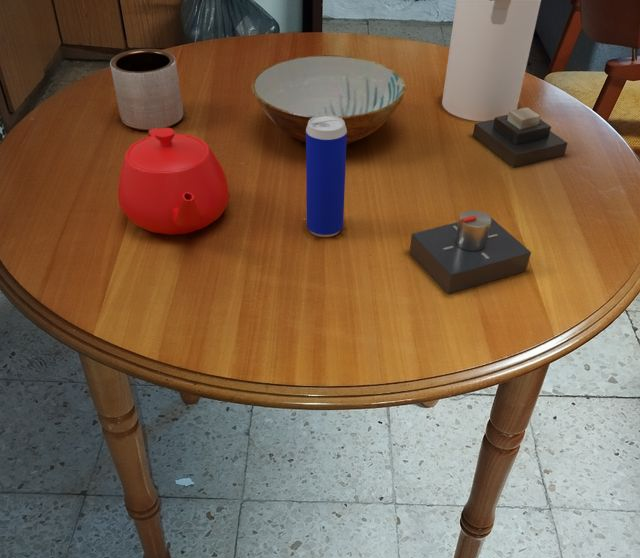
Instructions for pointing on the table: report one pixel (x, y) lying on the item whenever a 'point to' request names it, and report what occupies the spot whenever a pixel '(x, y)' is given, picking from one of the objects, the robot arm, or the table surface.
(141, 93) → the planter
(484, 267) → the volume panel
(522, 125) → the cream push button
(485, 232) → the volume dial
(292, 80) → the bowl
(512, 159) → the push button box
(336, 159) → the beverage can
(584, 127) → the table surface
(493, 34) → the canister
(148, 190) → the teapot
